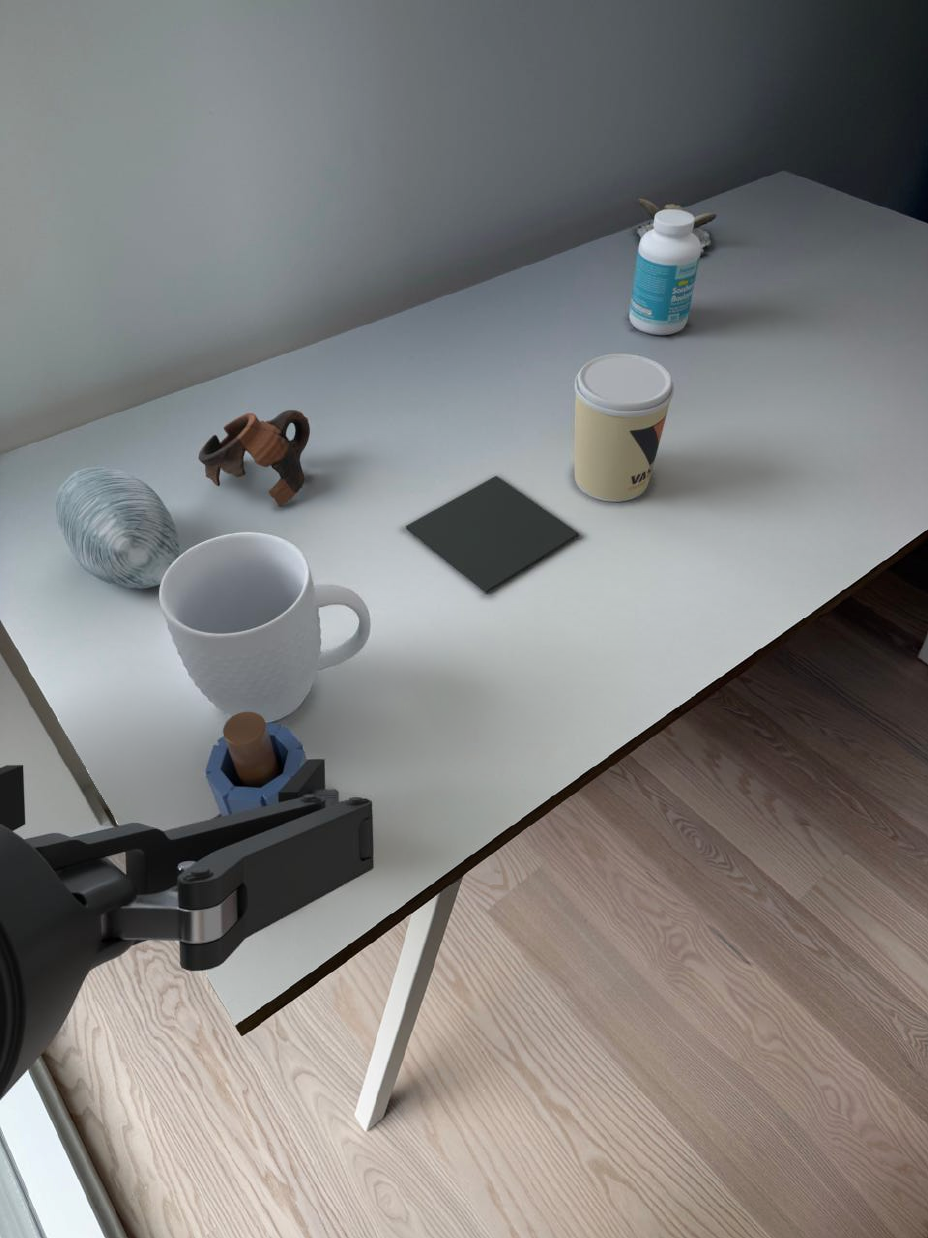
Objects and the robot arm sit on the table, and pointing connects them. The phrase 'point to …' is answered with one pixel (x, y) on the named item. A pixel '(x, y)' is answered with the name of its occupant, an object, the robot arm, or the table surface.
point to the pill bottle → (665, 274)
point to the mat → (491, 533)
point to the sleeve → (247, 798)
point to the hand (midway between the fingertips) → (166, 791)
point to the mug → (253, 622)
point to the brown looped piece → (261, 450)
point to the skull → (699, 220)
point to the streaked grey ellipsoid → (117, 527)
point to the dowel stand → (251, 749)
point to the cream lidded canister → (619, 424)
